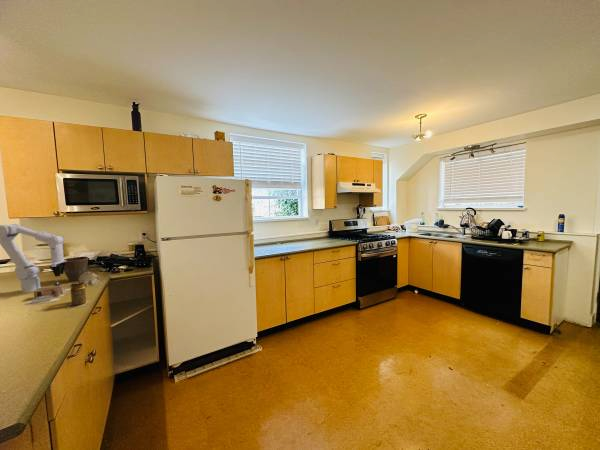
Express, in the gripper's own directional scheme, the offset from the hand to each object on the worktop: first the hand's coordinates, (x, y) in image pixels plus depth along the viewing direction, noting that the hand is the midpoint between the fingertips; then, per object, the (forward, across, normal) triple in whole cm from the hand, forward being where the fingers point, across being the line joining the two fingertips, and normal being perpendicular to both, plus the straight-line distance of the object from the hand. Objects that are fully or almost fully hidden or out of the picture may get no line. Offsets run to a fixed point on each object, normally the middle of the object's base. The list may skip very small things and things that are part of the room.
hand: (59, 275), depth 162 cm
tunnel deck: (+9, -18, 0) cm, 20 cm away
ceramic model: (+10, 0, -15) cm, 18 cm away
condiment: (+10, -38, -19) cm, 44 cm away
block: (+8, -18, 0) cm, 19 cm away
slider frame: (+8, -16, 0) cm, 18 cm away
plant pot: (+10, +20, -3) cm, 22 cm away
